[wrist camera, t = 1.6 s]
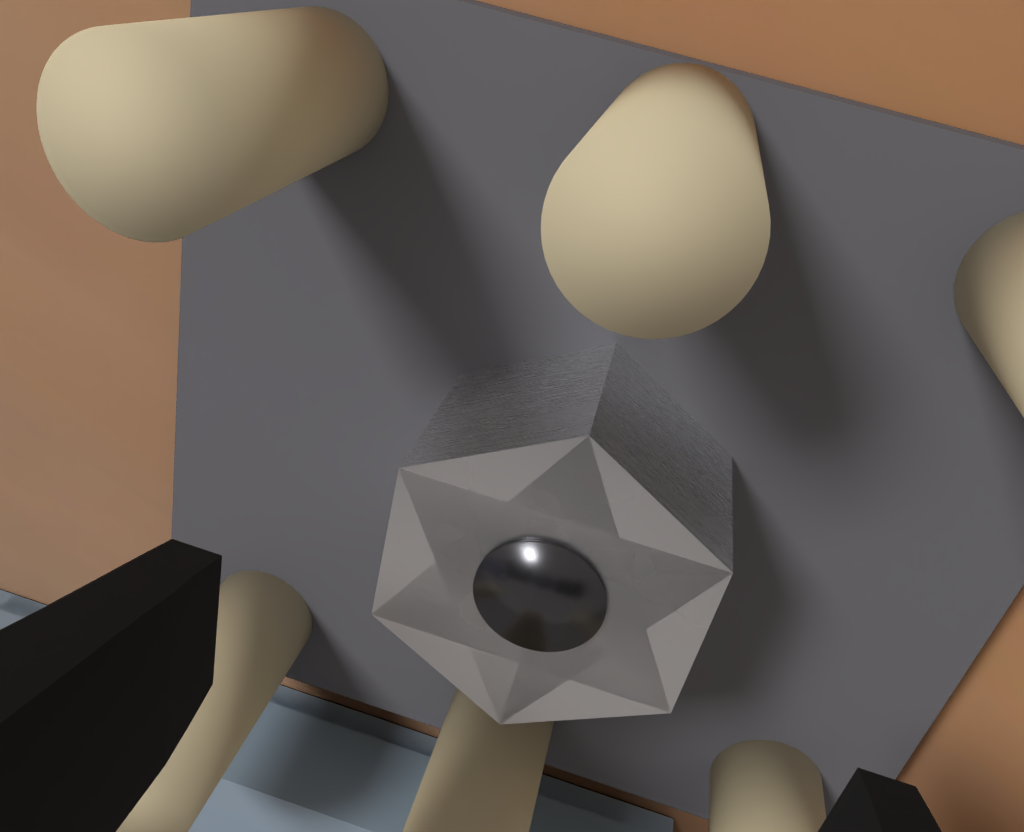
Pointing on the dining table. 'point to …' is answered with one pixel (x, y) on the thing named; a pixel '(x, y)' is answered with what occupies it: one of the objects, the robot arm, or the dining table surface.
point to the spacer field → (559, 329)
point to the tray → (354, 773)
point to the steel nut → (559, 539)
